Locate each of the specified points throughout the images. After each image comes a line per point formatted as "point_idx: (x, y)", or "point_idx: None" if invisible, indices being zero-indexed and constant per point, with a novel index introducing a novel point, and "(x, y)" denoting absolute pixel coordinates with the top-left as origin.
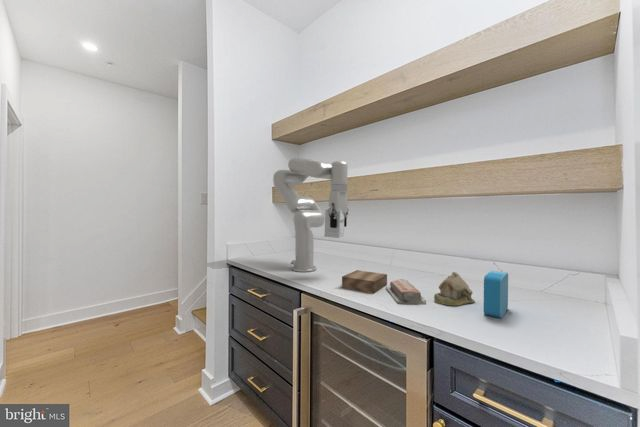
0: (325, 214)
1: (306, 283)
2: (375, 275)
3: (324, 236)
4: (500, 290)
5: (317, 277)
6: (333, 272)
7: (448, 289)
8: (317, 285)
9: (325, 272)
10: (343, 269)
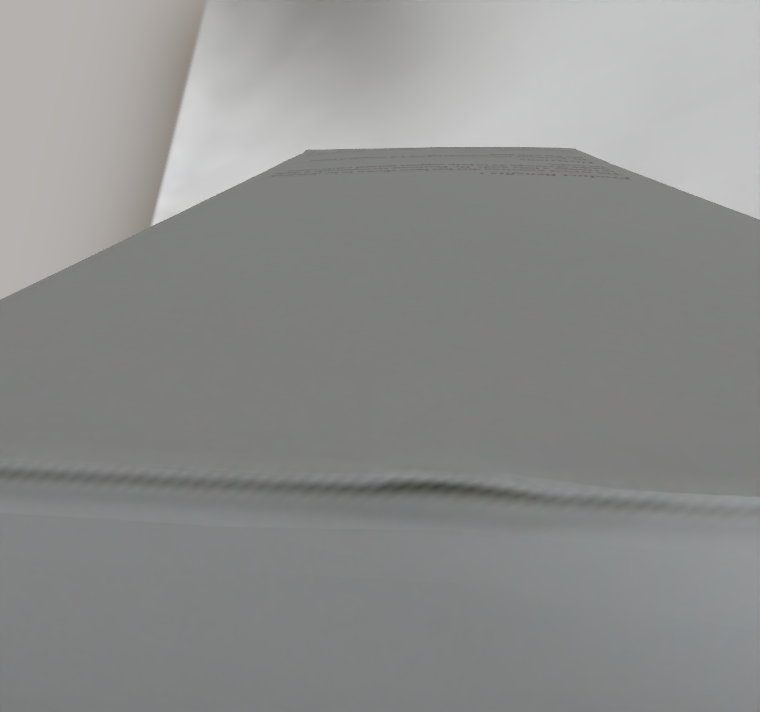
0: (35, 300)
1: (218, 45)
2: None
3: (303, 153)
4: None
5: (408, 48)
6: (616, 114)
7: None
8: (217, 147)
9: (601, 40)
10: (753, 161)
